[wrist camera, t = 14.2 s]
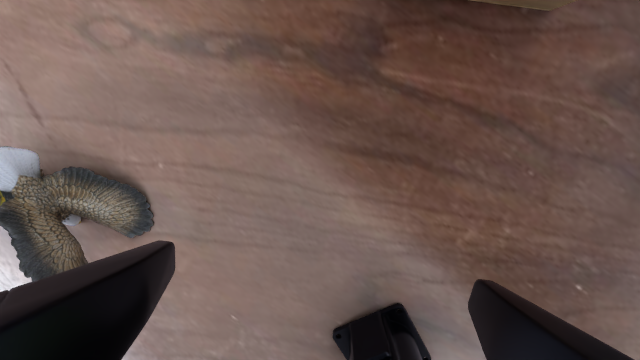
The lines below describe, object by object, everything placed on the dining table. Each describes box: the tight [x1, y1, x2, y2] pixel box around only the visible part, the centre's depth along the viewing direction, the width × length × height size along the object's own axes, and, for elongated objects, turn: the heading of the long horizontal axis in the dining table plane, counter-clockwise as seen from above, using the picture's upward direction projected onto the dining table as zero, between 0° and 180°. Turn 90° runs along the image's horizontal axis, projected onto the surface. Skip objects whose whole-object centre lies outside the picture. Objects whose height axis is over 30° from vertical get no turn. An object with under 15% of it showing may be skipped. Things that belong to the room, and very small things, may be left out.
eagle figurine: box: [0, 146, 153, 281], centre depth 20 cm, size 8×7×9 cm
